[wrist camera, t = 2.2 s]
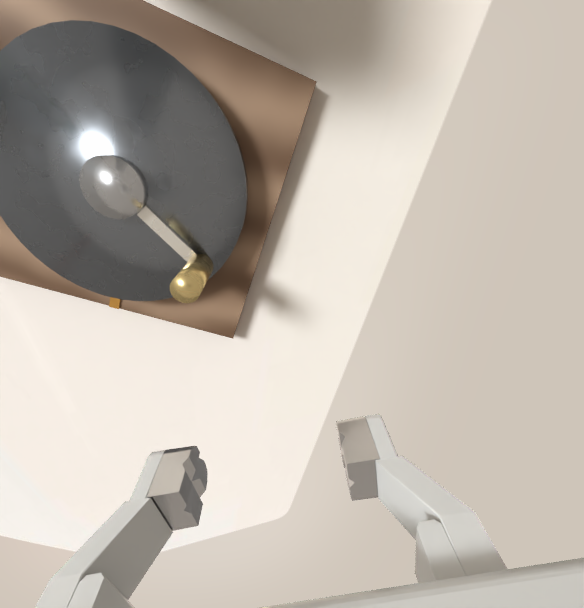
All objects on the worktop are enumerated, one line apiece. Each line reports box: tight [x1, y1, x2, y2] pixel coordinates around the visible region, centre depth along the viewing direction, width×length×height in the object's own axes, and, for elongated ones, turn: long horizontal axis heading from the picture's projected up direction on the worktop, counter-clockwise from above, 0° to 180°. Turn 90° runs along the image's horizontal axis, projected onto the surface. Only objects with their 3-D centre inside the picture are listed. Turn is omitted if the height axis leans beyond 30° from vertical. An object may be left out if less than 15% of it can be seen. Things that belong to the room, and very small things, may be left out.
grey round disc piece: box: [0, 20, 248, 303], centre depth 24 cm, size 22×22×8 cm
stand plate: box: [0, 0, 316, 338], centre depth 29 cm, size 27×27×2 cm
